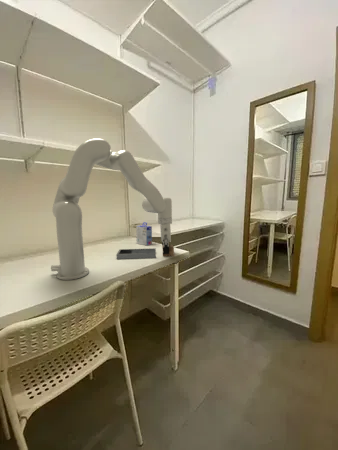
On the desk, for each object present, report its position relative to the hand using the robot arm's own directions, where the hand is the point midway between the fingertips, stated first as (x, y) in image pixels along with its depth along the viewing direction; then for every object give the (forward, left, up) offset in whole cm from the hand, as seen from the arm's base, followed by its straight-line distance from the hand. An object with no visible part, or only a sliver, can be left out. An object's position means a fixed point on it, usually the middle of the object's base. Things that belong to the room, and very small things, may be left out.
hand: (165, 251), depth 116 cm
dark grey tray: (-16, 0, -2) cm, 16 cm away
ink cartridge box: (-13, +26, -2) cm, 29 cm away
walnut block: (+1, 0, -2) cm, 3 cm away
